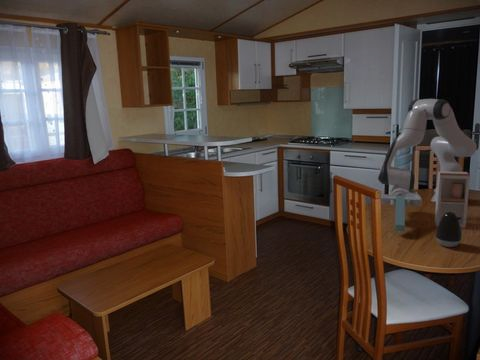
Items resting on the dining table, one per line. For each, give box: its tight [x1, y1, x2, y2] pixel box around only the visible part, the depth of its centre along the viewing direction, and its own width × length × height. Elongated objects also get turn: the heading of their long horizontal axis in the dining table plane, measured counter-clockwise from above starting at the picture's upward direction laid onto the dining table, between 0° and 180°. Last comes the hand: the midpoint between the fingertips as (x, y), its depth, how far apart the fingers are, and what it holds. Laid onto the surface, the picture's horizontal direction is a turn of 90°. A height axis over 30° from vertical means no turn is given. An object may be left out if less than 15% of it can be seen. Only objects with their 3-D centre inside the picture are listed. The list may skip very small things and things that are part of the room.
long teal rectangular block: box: [394, 196, 406, 232], centre depth 200 cm, size 4×19×4 cm
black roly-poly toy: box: [435, 212, 463, 248], centre depth 180 cm, size 10×10×15 cm
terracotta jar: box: [451, 183, 463, 199], centre depth 203 cm, size 5×5×8 cm
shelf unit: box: [434, 170, 471, 229], centre depth 205 cm, size 9×13×27 cm
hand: (400, 204), depth 203 cm, fingers closed on long teal rectangular block, 4 cm apart
